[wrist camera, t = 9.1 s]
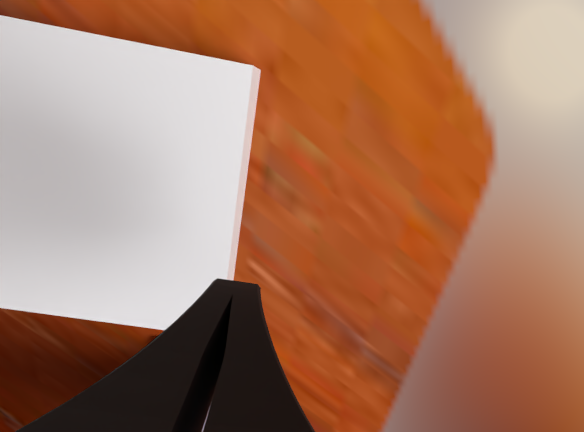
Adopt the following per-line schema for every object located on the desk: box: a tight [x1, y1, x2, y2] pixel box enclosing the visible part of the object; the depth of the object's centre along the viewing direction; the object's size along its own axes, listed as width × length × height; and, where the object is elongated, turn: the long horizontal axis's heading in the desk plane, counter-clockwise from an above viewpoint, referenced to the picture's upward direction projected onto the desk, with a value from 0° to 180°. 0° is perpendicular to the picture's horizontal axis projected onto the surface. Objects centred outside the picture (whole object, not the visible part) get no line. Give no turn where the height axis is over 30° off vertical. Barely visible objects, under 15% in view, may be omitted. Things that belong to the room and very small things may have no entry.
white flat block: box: [0, 15, 261, 330], centre depth 16 cm, size 14×12×4 cm
